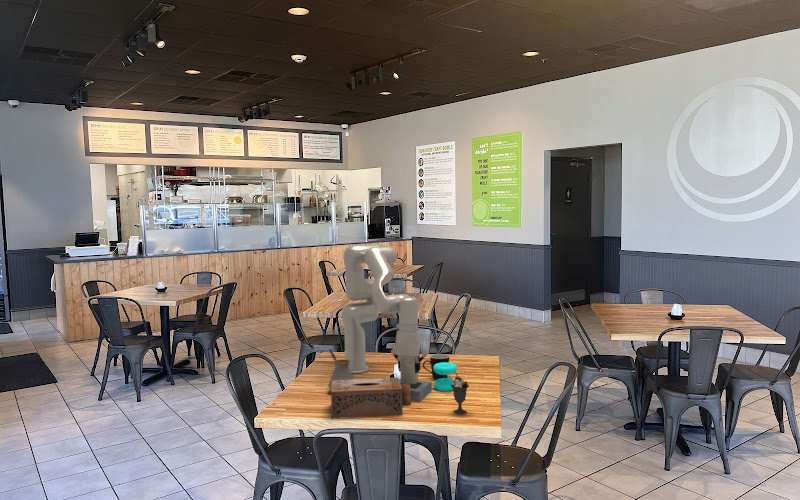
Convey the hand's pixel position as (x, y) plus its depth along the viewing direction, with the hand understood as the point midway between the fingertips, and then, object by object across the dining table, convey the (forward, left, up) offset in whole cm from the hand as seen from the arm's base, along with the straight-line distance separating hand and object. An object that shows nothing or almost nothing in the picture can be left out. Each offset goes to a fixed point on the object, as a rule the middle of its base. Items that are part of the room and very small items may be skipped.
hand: (409, 371), depth 239 cm
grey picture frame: (0, 0, -10) cm, 10 cm away
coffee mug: (+3, +25, -10) cm, 27 cm away
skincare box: (0, 0, -5) cm, 5 cm away
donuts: (+11, +13, -10) cm, 20 cm away
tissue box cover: (-8, -23, -10) cm, 26 cm away
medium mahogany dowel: (+3, -12, -10) cm, 15 cm away
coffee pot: (-31, -3, -10) cm, 33 cm away
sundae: (+25, -13, -10) cm, 30 cm away
